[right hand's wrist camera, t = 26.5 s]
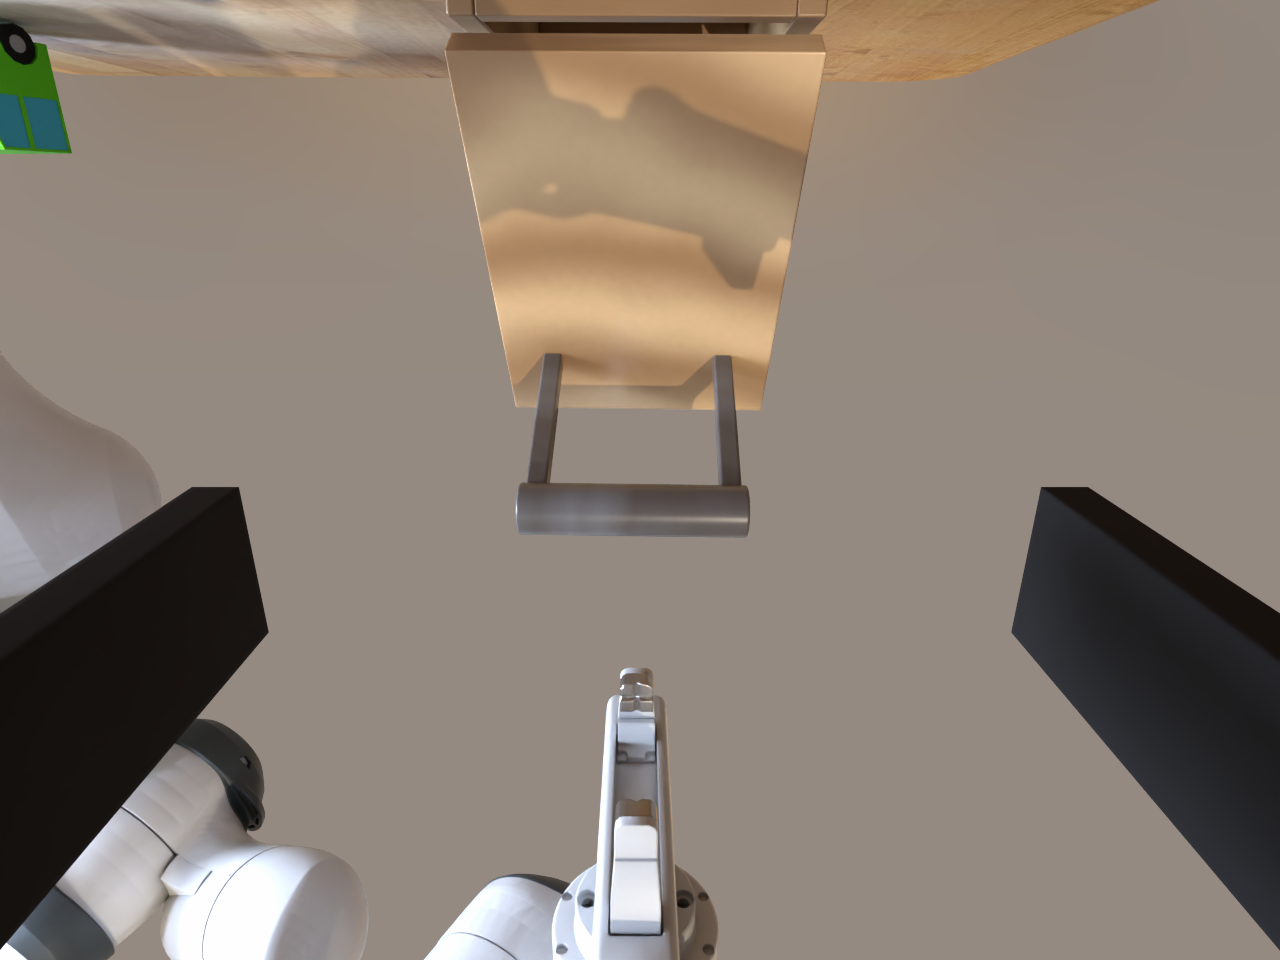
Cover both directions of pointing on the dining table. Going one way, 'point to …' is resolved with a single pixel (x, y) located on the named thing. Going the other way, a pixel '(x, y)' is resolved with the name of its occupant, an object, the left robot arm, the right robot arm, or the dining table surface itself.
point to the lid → (636, 240)
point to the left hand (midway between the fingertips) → (636, 735)
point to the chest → (638, 16)
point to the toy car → (28, 97)
